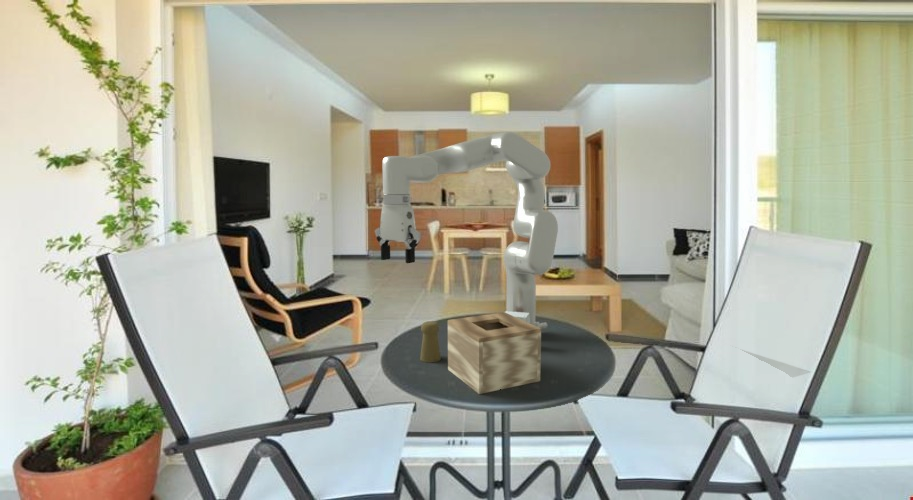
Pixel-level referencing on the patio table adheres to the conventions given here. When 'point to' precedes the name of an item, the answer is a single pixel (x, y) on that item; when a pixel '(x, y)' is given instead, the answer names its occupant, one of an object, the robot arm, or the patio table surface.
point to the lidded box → (494, 351)
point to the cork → (430, 342)
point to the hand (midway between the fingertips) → (397, 261)
